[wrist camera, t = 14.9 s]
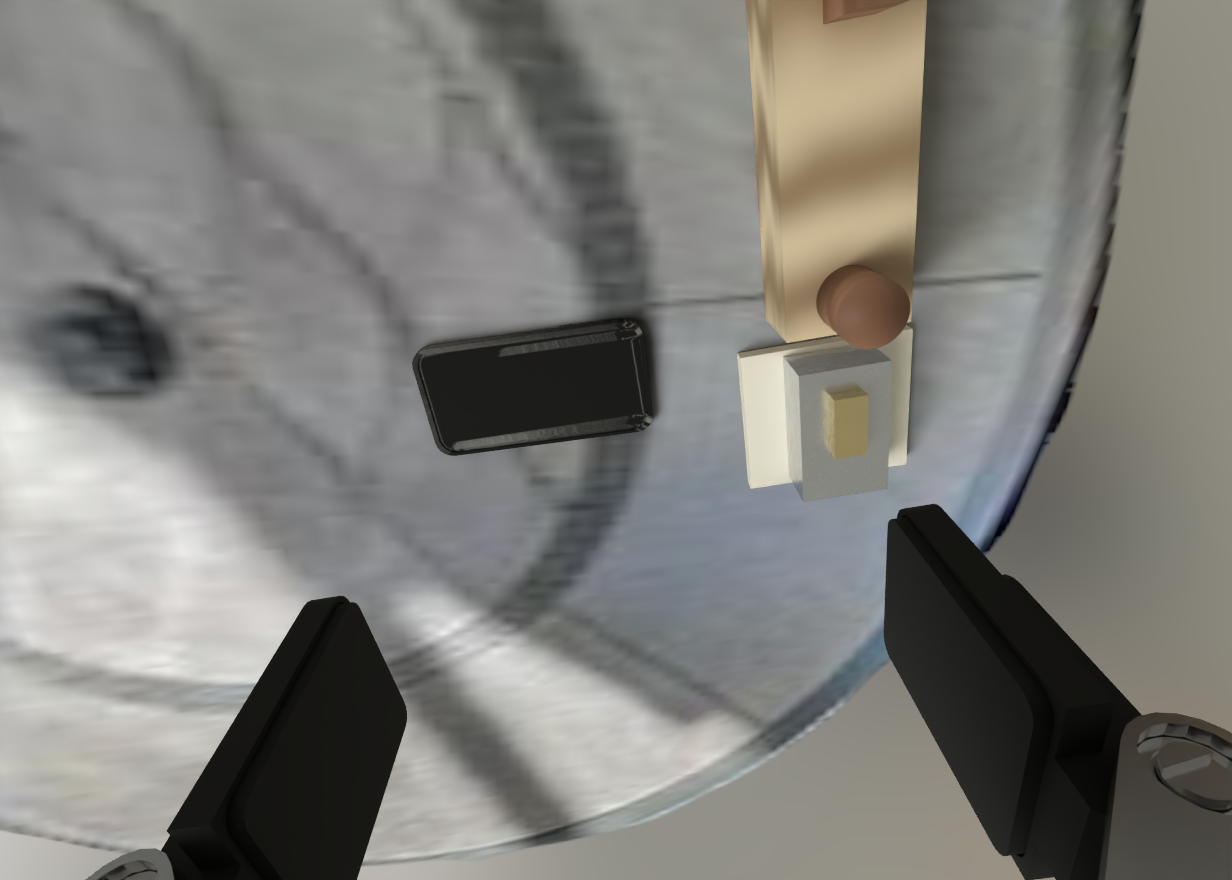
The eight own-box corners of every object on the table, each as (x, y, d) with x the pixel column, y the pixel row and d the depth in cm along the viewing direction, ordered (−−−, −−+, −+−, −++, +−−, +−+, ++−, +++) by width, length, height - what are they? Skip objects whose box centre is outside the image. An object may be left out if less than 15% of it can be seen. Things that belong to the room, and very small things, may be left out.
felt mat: (737, 353, 41) (740, 358, 40) (905, 324, 40) (912, 328, 39) (748, 481, 45) (751, 488, 44) (899, 457, 45) (906, 464, 44)
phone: (654, 429, 42) (439, 458, 43) (653, 422, 43) (443, 450, 44) (641, 317, 39) (407, 350, 39) (640, 313, 40) (411, 344, 40)
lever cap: (782, 356, 40) (803, 382, 36) (868, 341, 39) (899, 366, 35) (788, 475, 44) (808, 510, 40) (866, 462, 44) (894, 496, 40)
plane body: (744, -22, 31) (802, -81, 23) (883, -50, 31) (997, -121, 22) (765, 318, 40) (814, 374, 31) (875, 299, 39) (957, 350, 30)
